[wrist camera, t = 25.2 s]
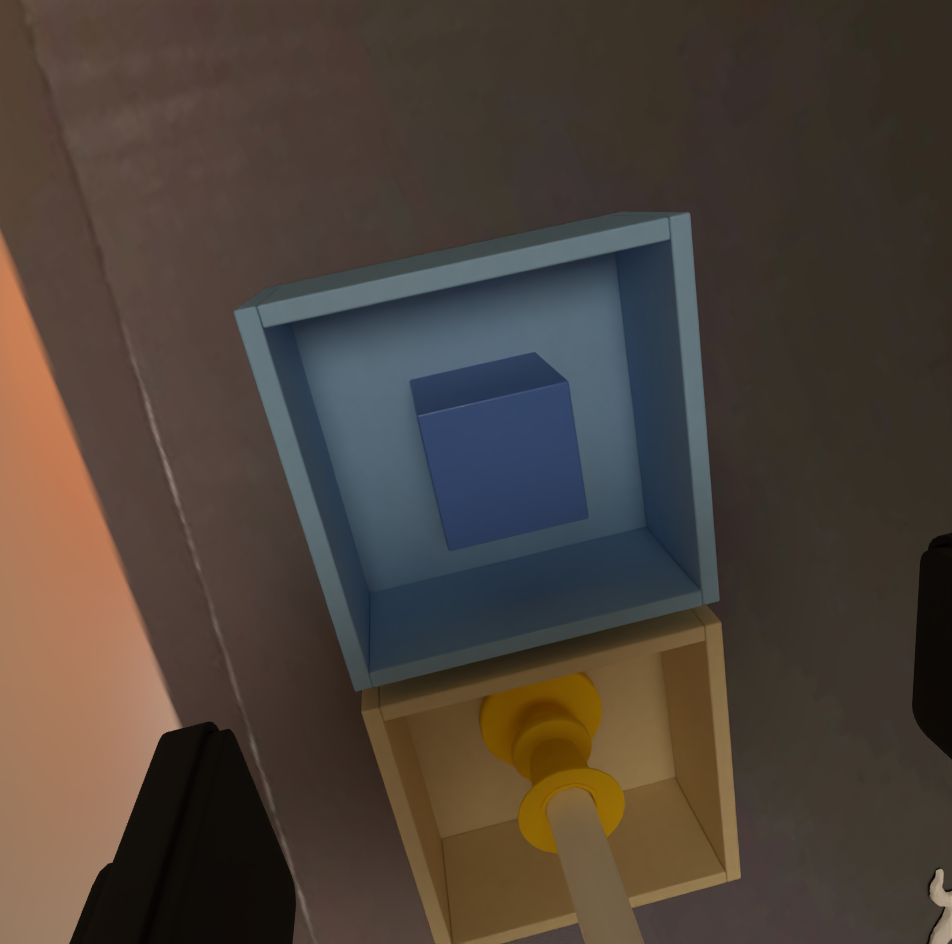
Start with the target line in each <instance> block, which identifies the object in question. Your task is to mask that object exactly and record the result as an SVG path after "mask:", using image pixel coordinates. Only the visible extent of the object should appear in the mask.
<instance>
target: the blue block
mask: <svg viewBox="0 0 952 944" xmlns="http://www.w3.org/2000/svg"><path fill="white" fill-rule="evenodd" d="M410 387H411V392H412V397H413V402H414V407H415V412H416V417H417V421H418V425H419V430H420V434H421V438H422V442H423V447H424V451H425V455H426V459H427V463H428V468H429V472H430V476H431V480H432V485H433V489H434V493H435V497H436V501H437V506H438V510H439V514H440V518H441V523H442V527H443V531H444V535H445V539H446V544H447V548H448V550H449V551H454V550H458V549H462V548H466V547H470V546H475V545H479V544H483V543H487V542H491V541H495V540H500V539H504V538H508V537H512V536H516V535H521V534H525V533H529V532H533V531H537V530H541V529H546V528H550V527H554V526H558V525H562V524H567V523H571V522H575V521H579V520H583V519H587V518H588V516H589V515H588V508H587V502H586V495H585V488H584V482H583V475H582V468H581V462H580V455H579V448H578V442H577V435H576V428H575V421H574V415H573V408H572V401H571V395H570V388H569V382H568V381H567V380H566V379H565V378H564V377H563V376H562V375H561V374H560V373H558V372H557V371H556V370H555V369H554V368H553V367H552V366H551V365H549V364H548V363H547V362H546V361H545V360H544V359H543V358H541V357H540V356H539V355H538V354H537V353H536V352H532V353H527V354H523V355H519V356H514V357H510V358H505V359H501V360H496V361H492V362H487V363H483V364H478V365H474V366H470V367H465V368H461V369H456V370H452V371H447V372H443V373H438V374H434V375H429V376H425V377H421V378H416V379H412V380H410Z"/></svg>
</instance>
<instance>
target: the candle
mask: <svg viewBox="0 0 952 944" xmlns="http://www.w3.org/2000/svg"><path fill="white" fill-rule="evenodd" d="M601 716H602V705H601V699H600V696H599V694H598V692H597V690H596V688H595V686H594V684H593V682H592V681H591V680H590V679H589V677H588V676H587V675H586V674H585V673H584V672H578V673H574V674H570V675H566V676H562V677H558V678H554V679H550V680H546V681H542V682H539V683H535V684H531V685H527V686H523V687H519V688H515V689H511V690H507V691H503V692H499V693H495V694H491V695H487V696H485V697H484V700H483V702H482V704H481V706H480V714H479V724H480V729H481V734H482V739H483V741H484V743H485V744H486V746H487V748H488V750H489V751H490V752H491V753H492V754H494V755H495V756H496V757H497V758H498V759H499V760H501V761H503V762H505V763H507V764H509V765H512V766H515V768H516V770H517V772H518V773H519V774H520V775H521V776H522V777H524V778H525V779H527V780H529V781H531V783H532V788H531V789H530V790H529V791H528V792H527V793H526V794H525V796H524V798H523V800H522V802H521V804H520V806H519V812H518V822H519V828H520V831H521V832H522V834H523V836H524V837H525V839H526V840H527V841H528V842H529V843H531V844H532V845H533V846H534V847H536V848H539V849H541V850H543V851H546V852H551V853H557V854H559V857H560V861H561V864H562V867H563V871H564V874H565V878H566V881H567V885H568V888H569V891H570V895H571V898H572V902H573V905H574V908H575V912H576V915H577V919H578V922H579V926H580V929H581V932H582V936H583V939H584V943H585V944H644V941H643V938H642V936H641V933H640V930H639V927H638V924H637V922H636V919H635V916H634V913H633V910H632V908H631V905H630V902H629V899H628V896H627V894H626V891H625V888H624V885H623V883H622V880H621V877H620V874H619V871H618V869H617V866H616V863H615V860H614V857H613V855H612V852H611V849H610V846H609V843H608V841H607V837H608V836H609V835H610V834H611V833H612V832H613V831H614V830H615V828H616V827H617V826H618V824H619V822H620V820H621V819H622V817H623V813H624V809H625V799H624V793H623V791H622V789H621V787H620V785H619V783H618V782H617V781H616V780H615V779H614V778H613V777H612V776H611V775H609V774H607V773H605V772H603V771H601V770H598V769H594V768H589V766H588V764H587V762H588V760H589V758H590V755H591V751H592V742H591V740H592V739H593V737H594V735H595V734H596V732H597V730H598V728H599V726H600V721H601Z"/></svg>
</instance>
